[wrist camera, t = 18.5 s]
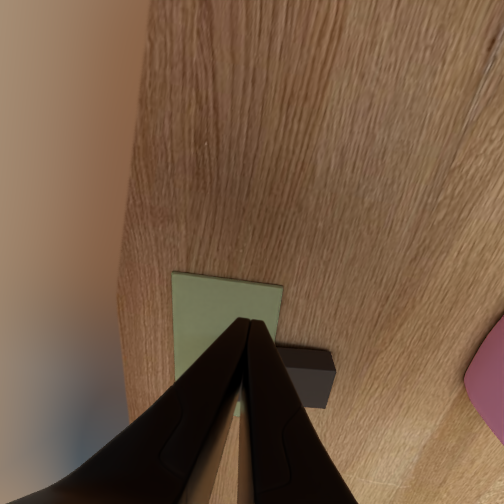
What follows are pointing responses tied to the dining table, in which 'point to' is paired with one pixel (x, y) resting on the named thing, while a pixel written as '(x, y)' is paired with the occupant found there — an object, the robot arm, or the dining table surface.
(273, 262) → the dining table surface
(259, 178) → the dining table surface
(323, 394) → the dark grey rectangular prism
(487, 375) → the teapot
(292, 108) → the dining table surface
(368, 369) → the dining table surface
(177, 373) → the mat
